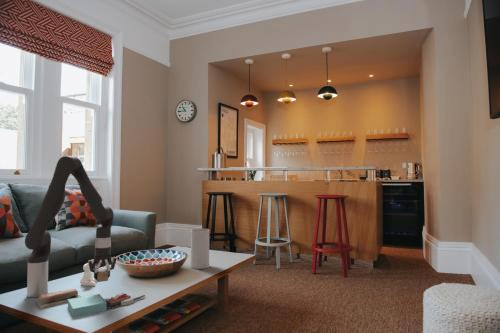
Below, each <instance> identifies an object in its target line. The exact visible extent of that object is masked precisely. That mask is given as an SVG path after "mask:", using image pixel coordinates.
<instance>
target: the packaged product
mask: <svg viewBox="0 0 500 333" xmlns="http://www.w3.org/2000/svg"><path fill="white" fill-rule="evenodd" d="M79 297H82V296H81V295H79V290H77V289H76V288H71V289H65V290H60V291H56V292H50V293H47V294H44V295H40V296H39V297H37V298H38V299H37V301H36V302H35V303H36V304H37V305H38V306H39V307H40V308H41V309H46V308H51V307H53V306H59V305H63V304H68V299H74V298H79Z"/></svg>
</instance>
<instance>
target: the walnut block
mask: <svg viewBox="0 0 500 333" xmlns="http://www.w3.org/2000/svg"><path fill="white" fill-rule="evenodd" d="M96 281H97V282H96V283H100V282H107V281H109V278H108V270H107V268H99V269H98V271H97V280H96Z"/></svg>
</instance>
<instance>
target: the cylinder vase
mask: <svg viewBox="0 0 500 333" xmlns="http://www.w3.org/2000/svg"><path fill="white" fill-rule="evenodd" d="M209 267H210V229H209V228H193V229H190V268H191V269H195V270H203V269H208V268H209Z"/></svg>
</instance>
